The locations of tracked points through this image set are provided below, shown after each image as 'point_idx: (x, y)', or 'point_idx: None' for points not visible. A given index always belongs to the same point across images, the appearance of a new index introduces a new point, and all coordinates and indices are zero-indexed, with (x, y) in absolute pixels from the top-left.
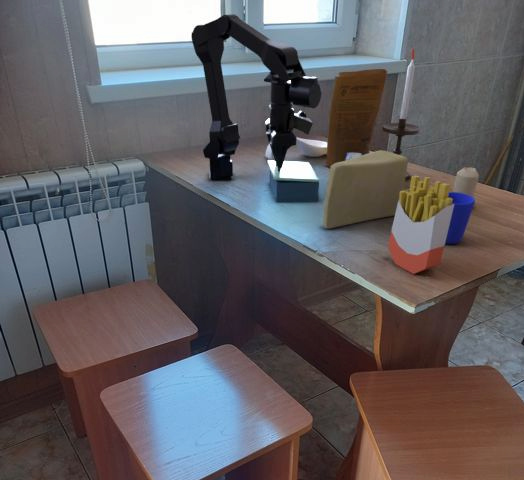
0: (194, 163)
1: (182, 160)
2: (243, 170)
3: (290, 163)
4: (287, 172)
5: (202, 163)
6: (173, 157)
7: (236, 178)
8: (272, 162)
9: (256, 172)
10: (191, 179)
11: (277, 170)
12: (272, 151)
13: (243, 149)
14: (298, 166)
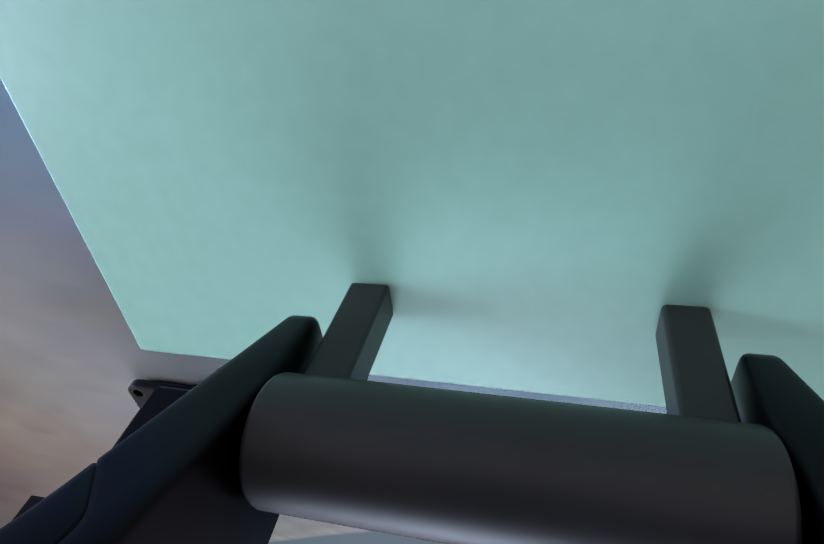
0: (49, 469)
1: (35, 492)
2: (25, 301)
3: (106, 39)
4: (768, 189)
5: (28, 446)
6: (17, 506)
7: (211, 361)
8: (211, 315)
9: (17, 229)
10: (294, 519)
11: (626, 331)
12: (267, 536)
13: None
14: None
